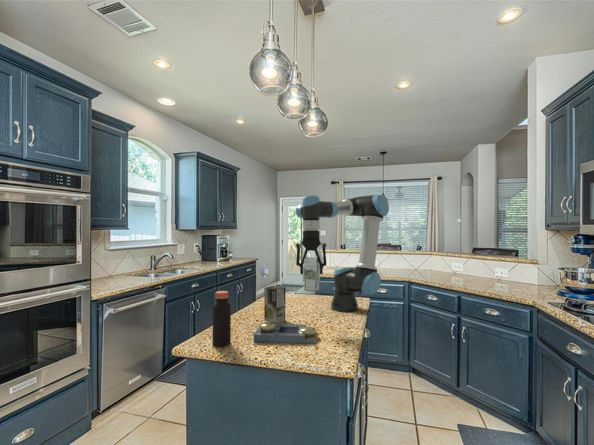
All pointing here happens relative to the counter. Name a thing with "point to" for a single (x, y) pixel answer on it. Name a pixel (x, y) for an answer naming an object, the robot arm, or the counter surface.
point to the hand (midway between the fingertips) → (311, 281)
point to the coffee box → (274, 304)
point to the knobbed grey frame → (277, 332)
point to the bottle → (221, 320)
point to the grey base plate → (309, 339)
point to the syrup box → (311, 274)
